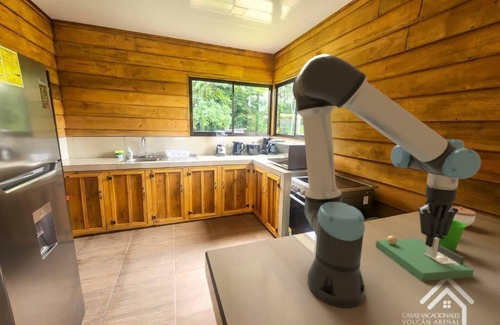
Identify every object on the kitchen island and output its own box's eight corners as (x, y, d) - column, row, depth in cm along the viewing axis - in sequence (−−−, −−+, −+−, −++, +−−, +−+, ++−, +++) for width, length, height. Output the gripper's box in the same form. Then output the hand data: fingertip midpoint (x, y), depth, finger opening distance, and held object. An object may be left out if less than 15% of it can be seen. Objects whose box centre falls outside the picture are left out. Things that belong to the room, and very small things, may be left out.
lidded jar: (480, 229, 103) (483, 211, 102) (457, 229, 103) (460, 210, 102) (458, 220, 114) (461, 203, 112) (438, 220, 114) (440, 202, 113)
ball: (444, 257, 72) (451, 260, 73) (435, 252, 75) (442, 254, 76) (440, 265, 73) (447, 268, 73) (430, 260, 76) (437, 262, 76)
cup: (468, 256, 80) (473, 228, 78) (440, 253, 82) (444, 225, 80) (451, 244, 89) (455, 218, 87) (426, 241, 90) (429, 216, 89)
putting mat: (421, 280, 66) (423, 266, 65) (375, 246, 86) (377, 235, 85) (474, 277, 68) (477, 263, 68) (418, 244, 88) (419, 233, 87)
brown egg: (390, 246, 81) (391, 238, 81) (384, 242, 84) (385, 234, 84) (398, 245, 81) (399, 237, 81) (392, 241, 85) (393, 233, 84)
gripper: (434, 190, 66) (423, 262, 69) (471, 190, 67) (459, 260, 71) (413, 184, 73) (404, 249, 76) (447, 184, 75) (436, 248, 78)
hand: (430, 254), depth 74 cm, fingers closed
